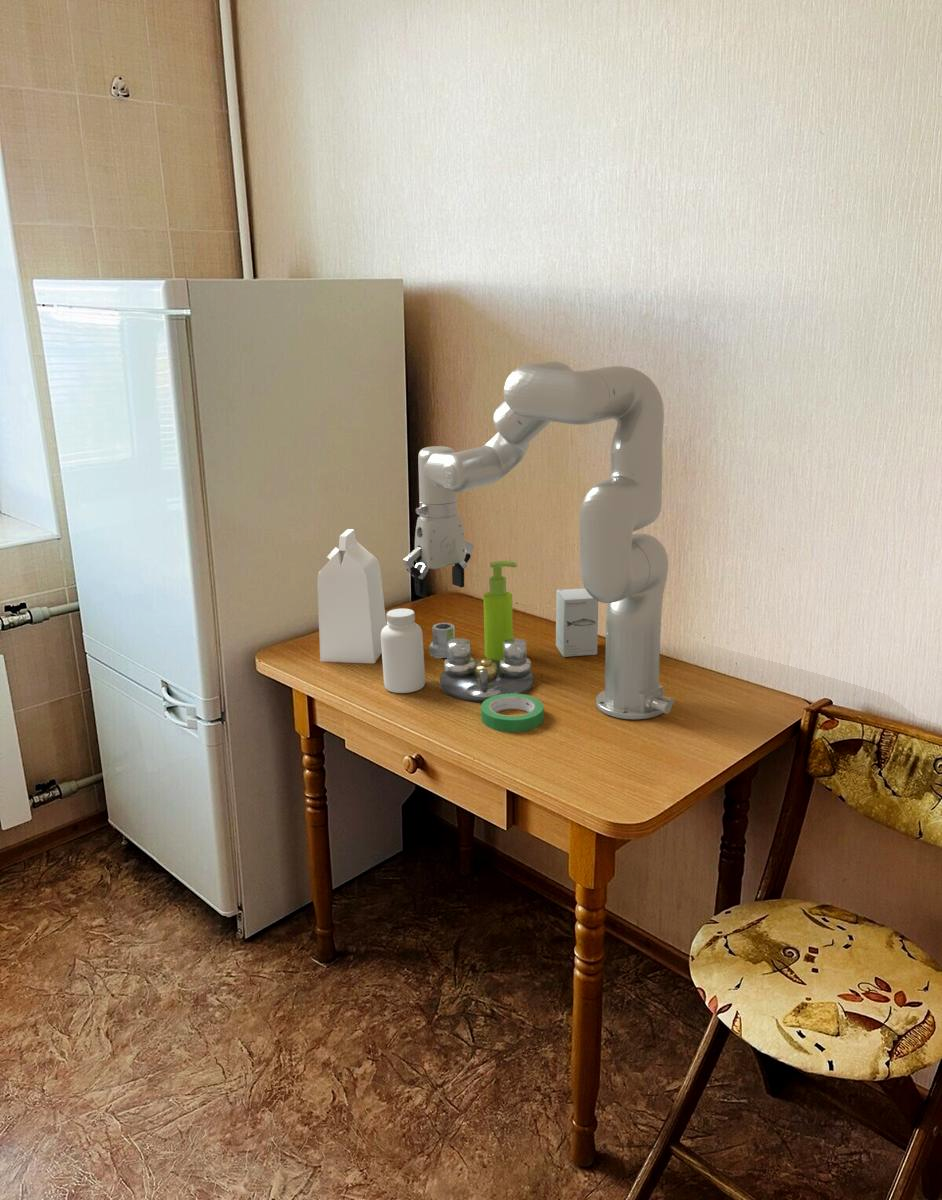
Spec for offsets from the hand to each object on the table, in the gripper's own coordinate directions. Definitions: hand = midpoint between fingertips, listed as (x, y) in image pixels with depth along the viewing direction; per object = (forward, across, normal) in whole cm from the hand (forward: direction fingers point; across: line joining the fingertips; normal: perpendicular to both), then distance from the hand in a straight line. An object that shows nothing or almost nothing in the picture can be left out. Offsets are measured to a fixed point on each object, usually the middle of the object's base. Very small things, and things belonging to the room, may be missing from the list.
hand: (440, 590), depth 196 cm
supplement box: (+13, +21, -19) cm, 31 cm away
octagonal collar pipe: (+14, 0, -1) cm, 14 cm away
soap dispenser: (+14, +8, -10) cm, 19 cm away
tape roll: (+14, -11, -34) cm, 38 cm away
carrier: (+13, -4, -19) cm, 23 cm away
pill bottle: (+14, -16, -9) cm, 23 cm away
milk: (+14, -13, +13) cm, 23 cm away
